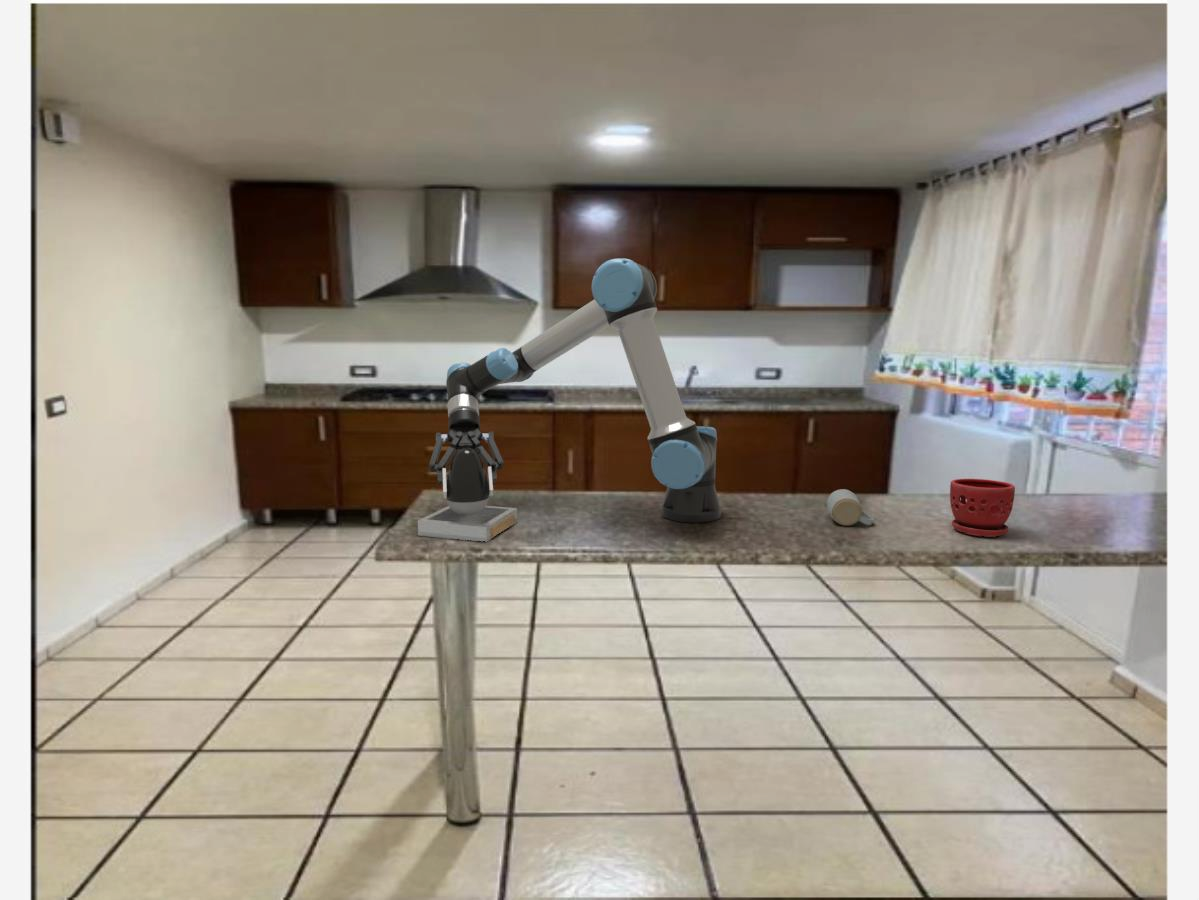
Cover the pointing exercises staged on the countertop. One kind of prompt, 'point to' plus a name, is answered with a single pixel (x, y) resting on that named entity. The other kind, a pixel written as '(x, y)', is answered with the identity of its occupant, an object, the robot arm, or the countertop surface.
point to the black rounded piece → (467, 483)
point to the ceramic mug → (847, 508)
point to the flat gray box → (467, 523)
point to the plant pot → (981, 506)
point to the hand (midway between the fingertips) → (468, 494)
